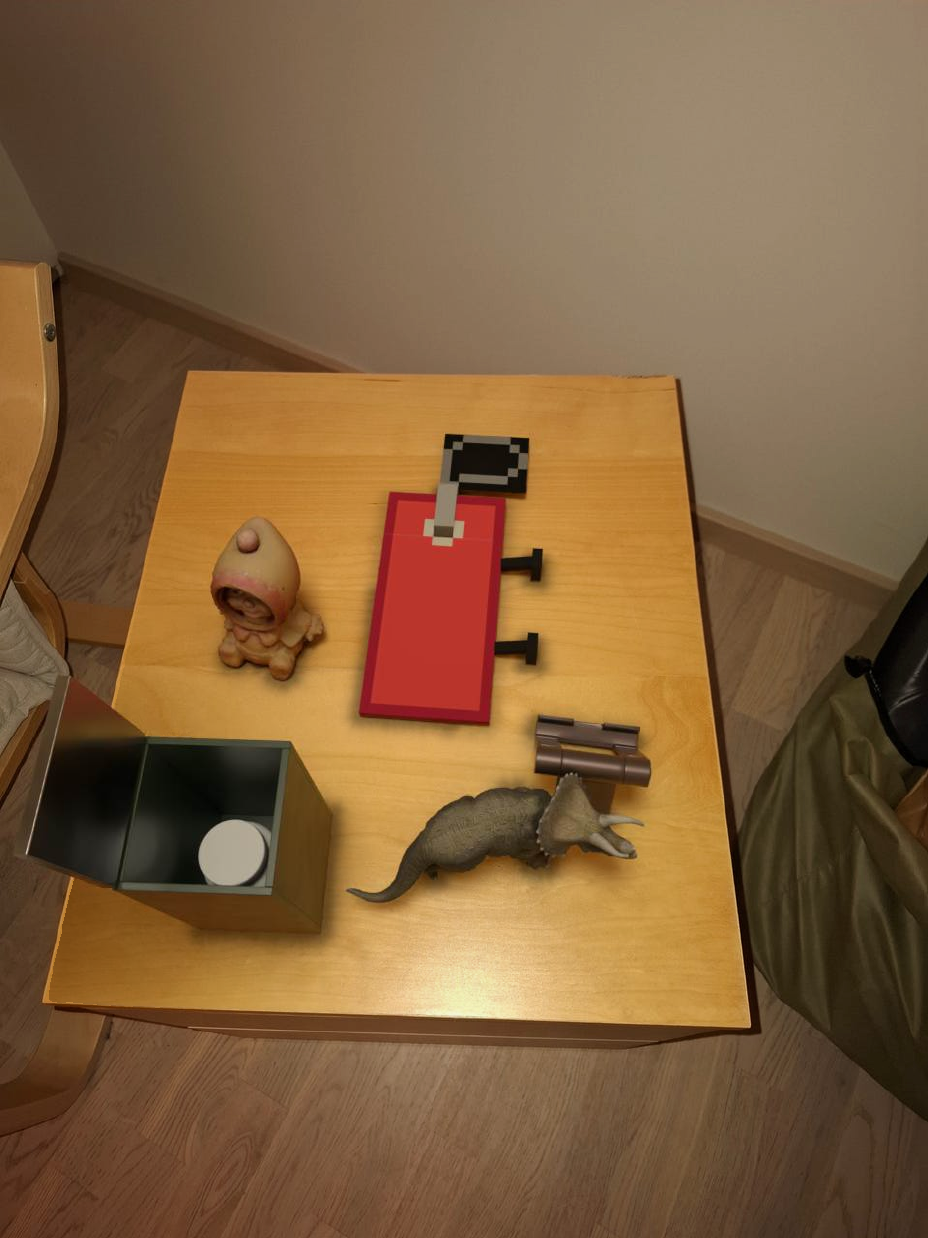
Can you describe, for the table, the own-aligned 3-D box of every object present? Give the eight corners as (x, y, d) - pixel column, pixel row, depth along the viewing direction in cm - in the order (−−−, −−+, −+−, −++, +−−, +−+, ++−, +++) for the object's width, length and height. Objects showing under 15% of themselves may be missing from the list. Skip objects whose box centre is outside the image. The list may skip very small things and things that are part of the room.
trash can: (332, 813, 74) (290, 740, 57) (320, 934, 70) (271, 895, 53) (218, 809, 75) (142, 735, 57) (200, 930, 71) (111, 890, 53)
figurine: (202, 668, 80) (168, 553, 69) (233, 605, 85) (207, 488, 73) (309, 690, 79) (292, 578, 68) (335, 626, 84) (323, 511, 72)
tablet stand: (638, 733, 77) (656, 699, 70) (633, 824, 74) (652, 798, 66) (536, 721, 78) (543, 685, 70) (527, 810, 75) (533, 783, 67)
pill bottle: (311, 879, 72) (289, 855, 63) (253, 930, 70) (222, 912, 61) (269, 826, 74) (241, 795, 65) (211, 874, 72) (174, 849, 63)
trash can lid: (70, 674, 48) (56, 674, 48) (26, 855, 44) (11, 855, 44) (145, 733, 57) (133, 733, 57) (115, 888, 53) (102, 888, 53)
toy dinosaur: (352, 913, 71) (333, 890, 61) (346, 807, 75) (327, 770, 65) (626, 881, 72) (651, 854, 62) (607, 779, 76) (628, 737, 66)
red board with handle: (547, 444, 90) (399, 436, 91) (549, 427, 88) (397, 419, 88) (532, 730, 78) (360, 718, 78) (533, 719, 75) (356, 707, 76)
